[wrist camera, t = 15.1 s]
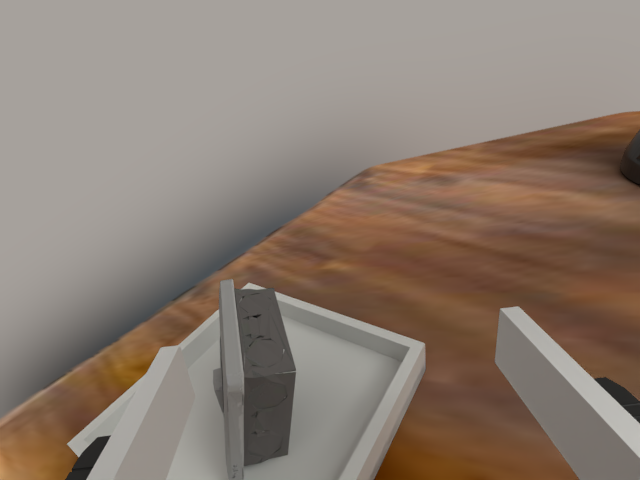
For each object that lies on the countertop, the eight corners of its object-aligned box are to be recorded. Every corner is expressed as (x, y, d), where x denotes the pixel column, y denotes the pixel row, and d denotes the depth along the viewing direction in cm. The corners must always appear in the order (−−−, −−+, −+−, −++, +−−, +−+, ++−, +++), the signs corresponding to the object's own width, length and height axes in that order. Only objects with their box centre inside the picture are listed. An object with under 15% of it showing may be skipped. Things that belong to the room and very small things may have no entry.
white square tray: (425, 369, 27) (424, 343, 26) (279, 680, 16) (261, 666, 14) (256, 304, 37) (248, 282, 36) (89, 466, 26) (66, 443, 24)
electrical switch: (223, 371, 29) (194, 282, 25) (285, 354, 30) (268, 265, 26) (230, 493, 22) (189, 396, 17) (313, 465, 23) (296, 366, 18)
